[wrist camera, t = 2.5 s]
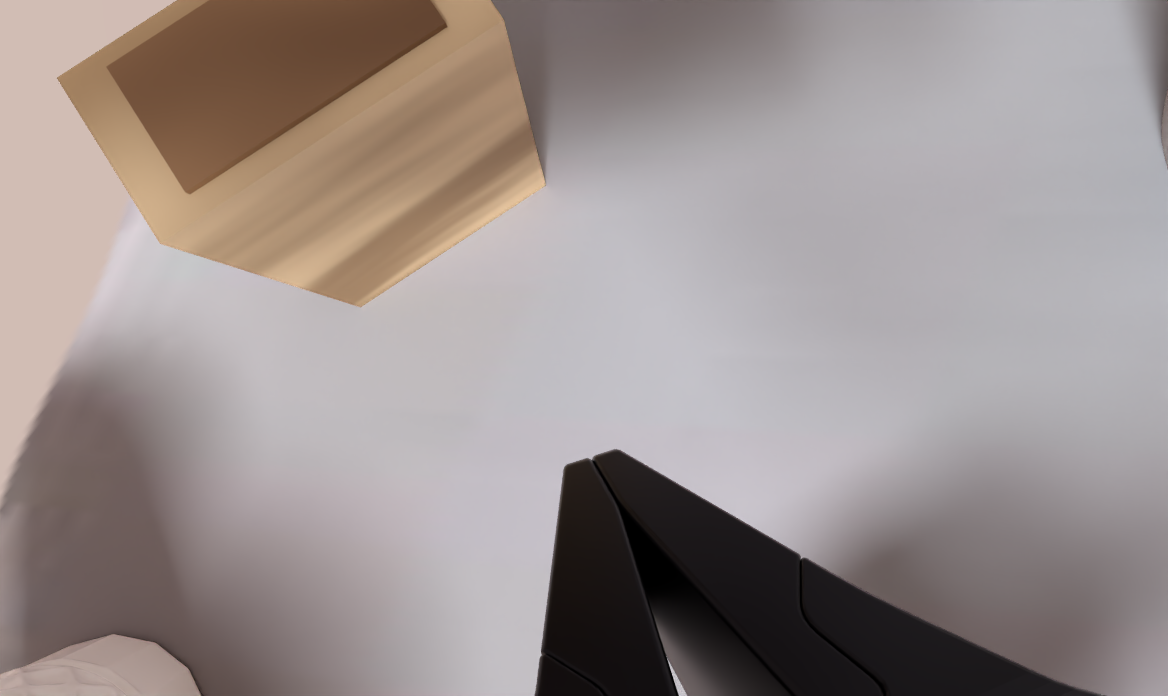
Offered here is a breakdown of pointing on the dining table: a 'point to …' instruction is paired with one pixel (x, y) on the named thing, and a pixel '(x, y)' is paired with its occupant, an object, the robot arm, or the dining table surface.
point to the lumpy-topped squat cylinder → (1165, 129)
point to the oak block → (314, 133)
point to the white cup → (102, 671)
